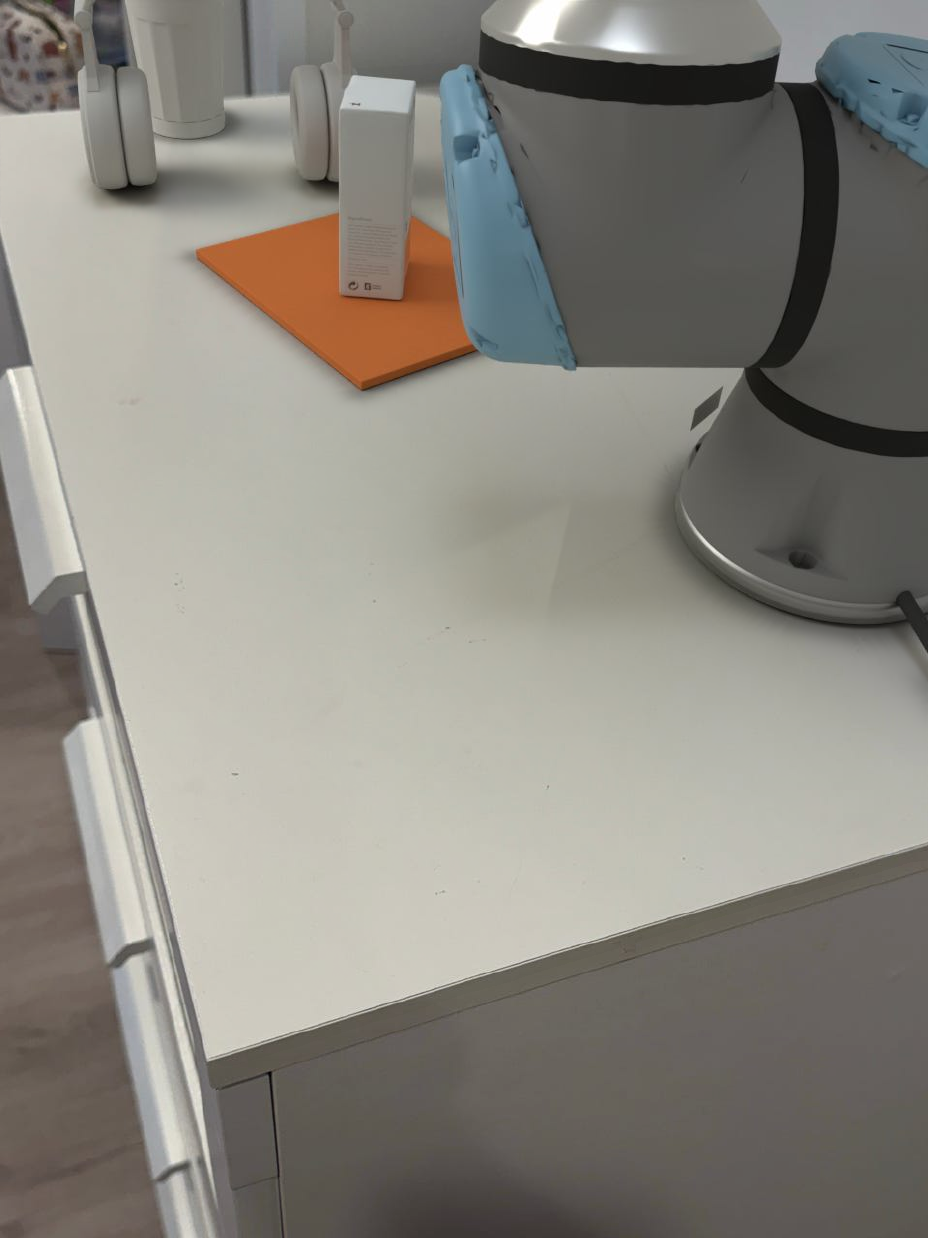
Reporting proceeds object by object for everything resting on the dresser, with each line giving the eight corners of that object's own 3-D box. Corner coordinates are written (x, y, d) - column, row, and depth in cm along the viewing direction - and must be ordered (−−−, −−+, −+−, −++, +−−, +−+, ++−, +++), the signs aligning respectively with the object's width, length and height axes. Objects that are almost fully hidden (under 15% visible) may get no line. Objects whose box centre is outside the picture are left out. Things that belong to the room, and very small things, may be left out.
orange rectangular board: (563, 320, 77) (564, 311, 77) (361, 390, 69) (361, 381, 69) (387, 207, 88) (387, 199, 88) (196, 257, 81) (195, 248, 80)
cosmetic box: (404, 302, 76) (409, 113, 68) (338, 297, 76) (336, 107, 68) (411, 260, 81) (417, 78, 73) (349, 255, 81) (348, 72, 73)
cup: (226, 145, 95) (214, -18, 87) (127, 138, 95) (105, -26, 87) (242, 109, 101) (232, -47, 93) (149, 103, 101) (130, -55, 92)
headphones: (92, 209, 85) (44, -97, 72) (93, 162, 91) (48, -129, 78) (366, 200, 89) (368, -92, 76) (350, 155, 95) (349, -122, 82)
